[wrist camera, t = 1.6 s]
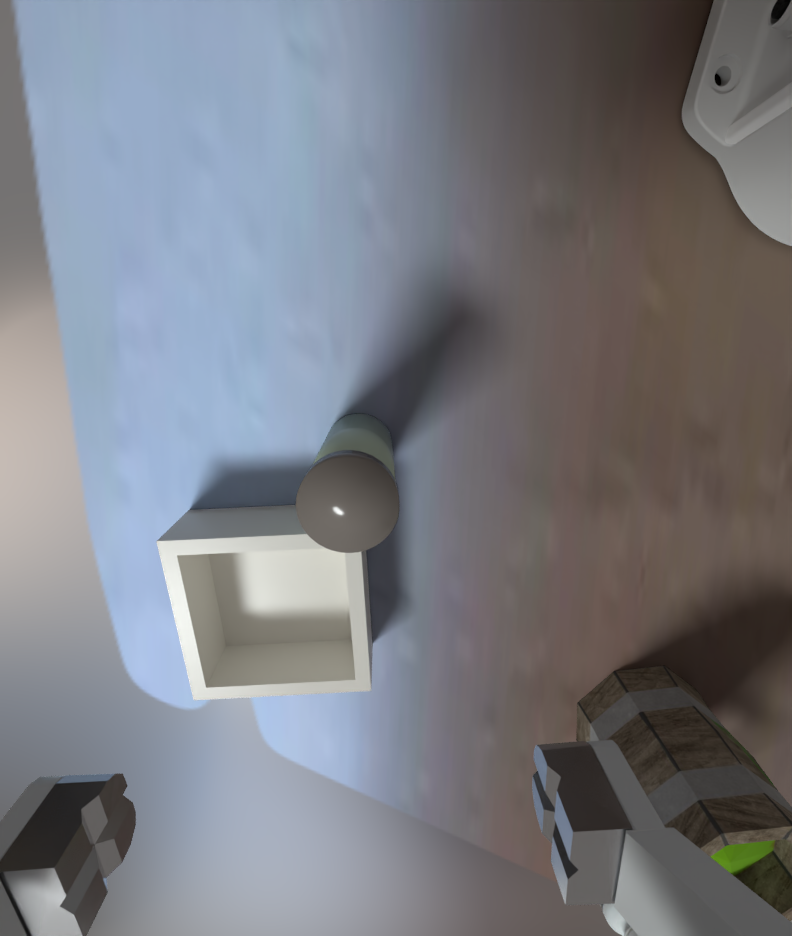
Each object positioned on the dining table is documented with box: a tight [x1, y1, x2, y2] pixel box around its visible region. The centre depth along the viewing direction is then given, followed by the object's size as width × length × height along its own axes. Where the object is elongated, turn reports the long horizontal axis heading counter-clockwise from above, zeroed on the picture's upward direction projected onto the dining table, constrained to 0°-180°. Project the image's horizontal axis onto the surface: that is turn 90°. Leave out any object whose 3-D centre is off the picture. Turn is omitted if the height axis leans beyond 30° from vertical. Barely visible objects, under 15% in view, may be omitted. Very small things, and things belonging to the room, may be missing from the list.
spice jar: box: [296, 413, 399, 553], centre depth 24 cm, size 5×5×10 cm
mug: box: [576, 666, 792, 921], centre depth 32 cm, size 16×11×12 cm
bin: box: [157, 505, 373, 700], centre depth 30 cm, size 12×12×5 cm
